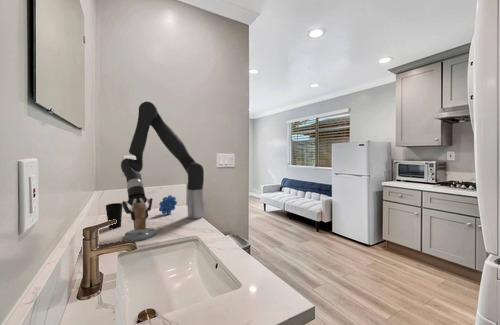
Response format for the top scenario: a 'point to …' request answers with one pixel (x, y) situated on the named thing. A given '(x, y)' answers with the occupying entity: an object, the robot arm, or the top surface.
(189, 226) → the top surface
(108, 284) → the top surface
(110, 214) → the cup
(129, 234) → the slate dish
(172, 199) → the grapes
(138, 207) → the walnut block
